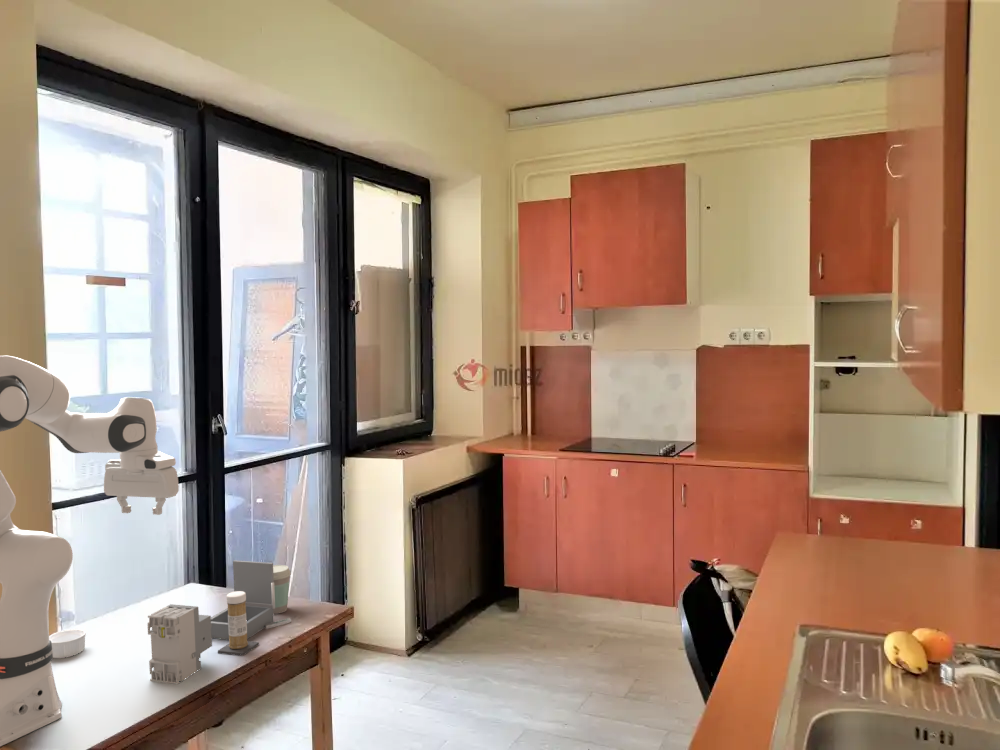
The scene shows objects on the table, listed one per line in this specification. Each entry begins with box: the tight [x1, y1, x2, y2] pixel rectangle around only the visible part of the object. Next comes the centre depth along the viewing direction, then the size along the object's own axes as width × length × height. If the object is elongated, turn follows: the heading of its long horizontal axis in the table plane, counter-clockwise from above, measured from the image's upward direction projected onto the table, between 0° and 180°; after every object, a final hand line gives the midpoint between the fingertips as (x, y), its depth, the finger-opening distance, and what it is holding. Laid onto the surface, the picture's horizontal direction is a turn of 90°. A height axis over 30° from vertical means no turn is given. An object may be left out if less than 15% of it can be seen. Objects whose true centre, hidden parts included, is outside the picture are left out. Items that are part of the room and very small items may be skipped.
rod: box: [263, 617, 292, 630], centre depth 214 cm, size 7×1×1 cm, turn 130°
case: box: [211, 559, 275, 641], centre depth 212 cm, size 15×13×16 cm
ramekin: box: [49, 628, 87, 659], centre depth 199 cm, size 9×9×4 cm
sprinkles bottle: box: [226, 591, 248, 649], centre depth 198 cm, size 5×5×14 cm
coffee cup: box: [273, 564, 292, 615], centre depth 225 cm, size 8×8×12 cm
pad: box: [217, 640, 260, 656], centre depth 199 cm, size 7×7×1 cm
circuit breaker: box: [147, 603, 213, 685], centre depth 187 cm, size 8×14×15 cm, turn 164°
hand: (141, 513), depth 204 cm, fingers open, 8 cm apart
